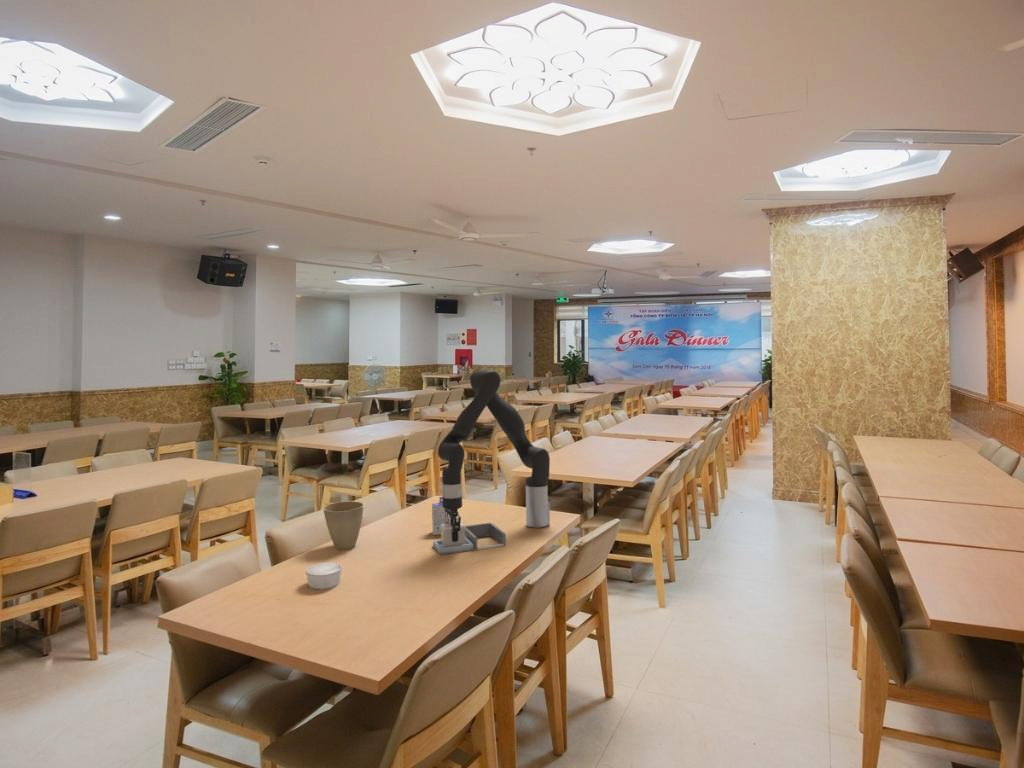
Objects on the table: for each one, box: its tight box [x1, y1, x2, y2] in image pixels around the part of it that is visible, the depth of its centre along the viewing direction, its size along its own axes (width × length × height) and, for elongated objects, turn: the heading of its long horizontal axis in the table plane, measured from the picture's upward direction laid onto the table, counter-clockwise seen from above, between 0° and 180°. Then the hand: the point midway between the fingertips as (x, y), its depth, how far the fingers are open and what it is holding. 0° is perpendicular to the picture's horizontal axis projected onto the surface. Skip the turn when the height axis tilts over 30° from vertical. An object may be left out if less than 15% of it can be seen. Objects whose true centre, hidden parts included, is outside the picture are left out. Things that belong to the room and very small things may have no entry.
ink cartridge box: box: [431, 496, 446, 536], centre depth 242 cm, size 10×6×14 cm, turn 98°
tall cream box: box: [440, 522, 466, 547], centre depth 223 cm, size 8×5×7 cm, turn 112°
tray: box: [432, 536, 475, 556], centre depth 223 cm, size 13×10×2 cm
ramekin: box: [305, 561, 343, 590], centre depth 190 cm, size 11×11×5 cm
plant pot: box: [322, 500, 364, 551], centre depth 226 cm, size 15×15×16 cm
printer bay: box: [465, 522, 507, 551], centre depth 230 cm, size 13×15×5 cm
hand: (453, 539), depth 223 cm, fingers closed on tall cream box, 5 cm apart
